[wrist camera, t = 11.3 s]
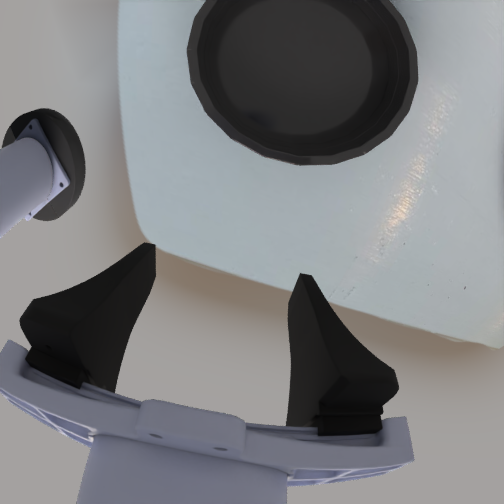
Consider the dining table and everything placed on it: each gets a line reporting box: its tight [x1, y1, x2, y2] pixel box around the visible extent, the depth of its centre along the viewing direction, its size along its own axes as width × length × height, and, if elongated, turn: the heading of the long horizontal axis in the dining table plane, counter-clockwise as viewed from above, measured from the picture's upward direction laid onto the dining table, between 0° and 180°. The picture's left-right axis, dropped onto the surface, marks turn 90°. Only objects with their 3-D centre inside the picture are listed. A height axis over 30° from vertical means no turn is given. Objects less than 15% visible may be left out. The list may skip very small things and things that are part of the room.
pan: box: [187, 0, 418, 166], centre depth 14 cm, size 13×13×4 cm
